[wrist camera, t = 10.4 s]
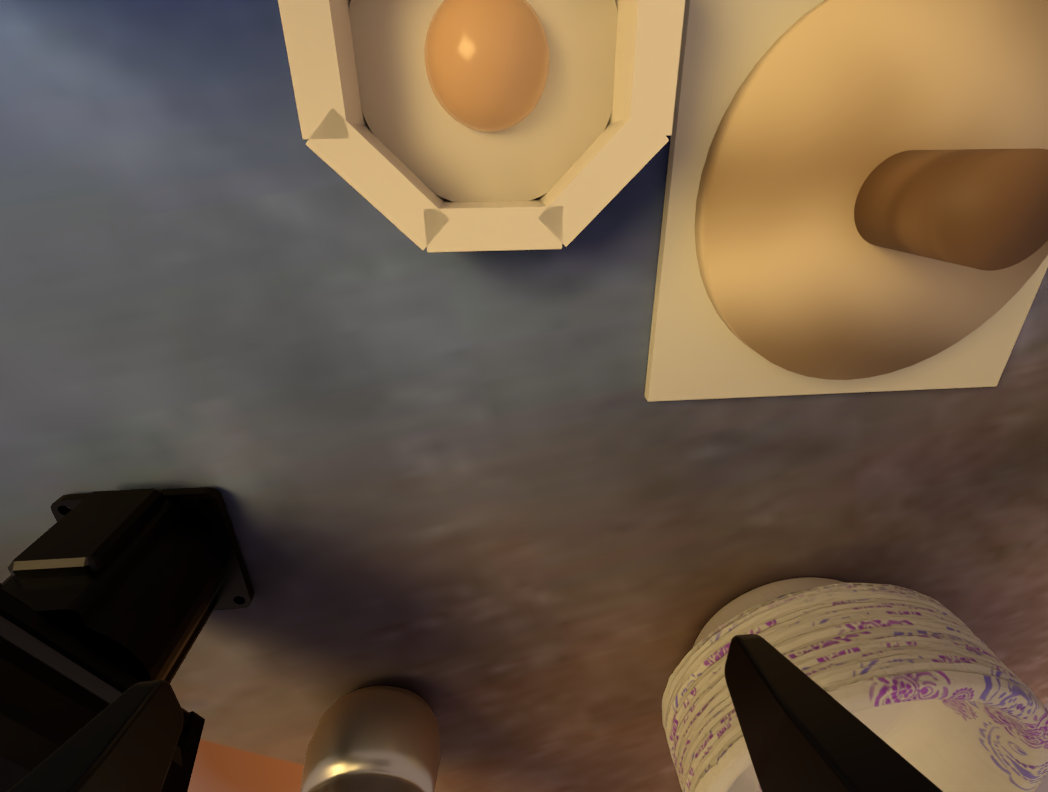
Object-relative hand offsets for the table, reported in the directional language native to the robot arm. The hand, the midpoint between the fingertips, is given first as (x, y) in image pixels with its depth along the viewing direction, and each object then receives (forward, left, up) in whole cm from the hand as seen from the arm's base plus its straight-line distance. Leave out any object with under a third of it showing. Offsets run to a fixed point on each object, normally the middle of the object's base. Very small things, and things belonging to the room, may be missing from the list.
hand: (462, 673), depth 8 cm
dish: (+10, -1, -13) cm, 16 cm away
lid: (+6, -14, -12) cm, 20 cm away
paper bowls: (-17, -16, -13) cm, 27 cm away
